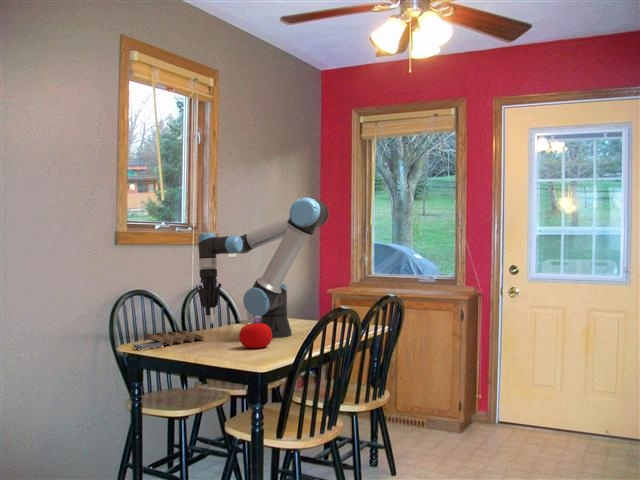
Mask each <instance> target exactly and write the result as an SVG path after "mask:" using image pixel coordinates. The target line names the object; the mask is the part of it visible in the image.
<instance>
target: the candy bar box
mask: <svg viewBox="0 0 640 480" xmlns="http://www.w3.org/2000/svg"><path fill="white" fill-rule="evenodd" d="M246 312H247V313H246V315H247V324H248V323H254V322H256V323H260V320H261V316H257V315H252V314H250V313H249V312H248V311H247V310H246Z"/></svg>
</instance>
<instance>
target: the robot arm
mask: <svg viewBox="0 0 640 480" xmlns="http://www.w3.org/2000/svg"><path fill="white" fill-rule="evenodd" d="M329 214H330V213H329V208H328V206H327V205H326V203H325V202H323V201H321V200H319V199H314V198H312V197H302V198H299V199H296V200H295V201H294V202H293V203H292V204H291V206H290V209H289V216H287V217H284V218H282V219H279V220H277V221H275V222H272V223H269V224H266V225H264V226H262V227H260V228H257V229H255V230H253V231H249V232H248V233H245V234H242V235H240V236H239V235H229V236H228V235H225V236H216V233H215V232H201V233H199V234H198V243H197V244H198V267H199V268H200V269H199V278H200V281H199V282H200V283H199V284H197V285H196V286H195V288H196V289H197V291H198V296H199V299H200V304H201V307H203V308H204V309H205V315H206V323H207V324H214V323H215V308H217V306H218V305H219V298H220V292H221V291H220V290H221V287H222V283H219V282H218V280H217V277H218V269H217V266H218V265H217V255H230V254H231V255H232V254H235V255H236V254H241V255H242V254H247V253H250V252H251V251H252V250H254V249H256V248H259V247H262V246H264V245H266V244H270V243H271V242H275V241H277V240H280V239H281V241H280V243H279V244H278V246H277V248H276V250H275V251H274V253H273V256H271V257H272V258H271V259H270V261H269V263H268V265H267V267H266V268H265V271H264V273H263V274H262V276H261V277H257V279H256V280H255V281H254V283H253V286H252V287H250V288H249V289H248V290H247V291H246V292H245V293H244V295H243V298H242V300H243V306H244V308H245V310H246V312H247V311H248V312H249V313H250V314H252V315H257V316H261V320H260V323H262V324H266V325H268V326H269V327H270V329H271V332H272V339H273V338H285V337H290V336H292V328H291V325H290V322H289V319H288V295H287V294H288V290H287V285H286V284H285V283H283V282H284V280H285V278H286V276H287V274H288V273H289V271H290V269H291V267H292V265H293V264H294V261H296V260H295V259H296V257H297V256H298V254H299V253H300V250H301V249H302V247H303V245H304V244H305V241H306V239H307V238H310V237H312V236H313V235H314V234H313V233H314V232H315V231H316V229H317V228H319V227H321V226H324V224H325V223H327V221H328V219H329ZM262 321H263V322H262Z"/></svg>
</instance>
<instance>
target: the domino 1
mask: <svg viewBox="0 0 640 480" xmlns="http://www.w3.org/2000/svg"><path fill="white" fill-rule="evenodd" d="M163 345H164V344H163V343H162V342H157V341H150V342H143V343H138V344H134V345H133V349H134V348H136V349H140V350H142V349H146V348H153V347H161V346H163ZM153 349H154V348H153ZM140 350H139V351H140ZM142 351H143V350H142Z"/></svg>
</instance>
